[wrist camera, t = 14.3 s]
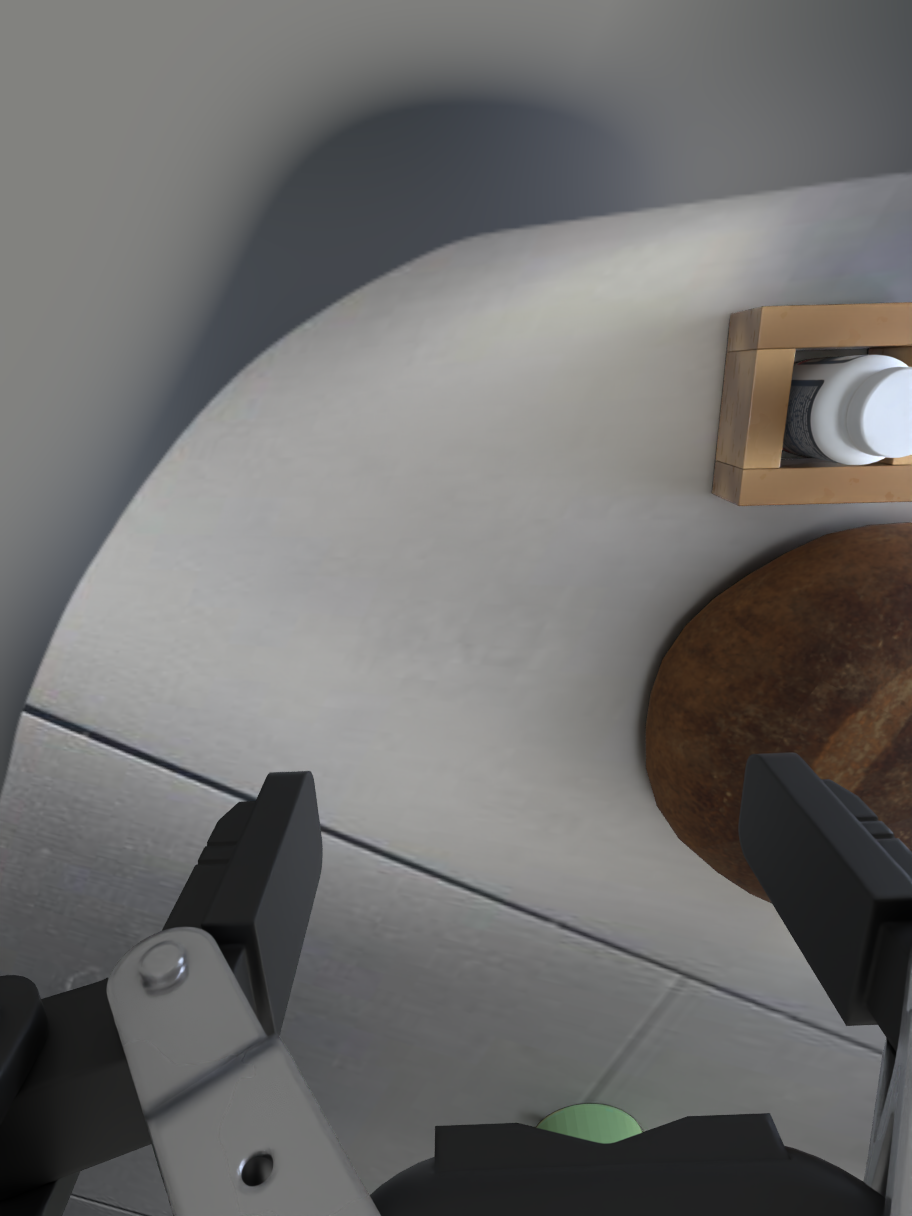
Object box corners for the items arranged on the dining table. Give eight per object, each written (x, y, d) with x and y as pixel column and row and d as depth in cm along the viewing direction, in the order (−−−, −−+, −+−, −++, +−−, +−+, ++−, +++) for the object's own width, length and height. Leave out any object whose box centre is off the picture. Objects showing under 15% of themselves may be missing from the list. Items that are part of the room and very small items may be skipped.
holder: (730, 313, 37) (762, 306, 33) (910, 308, 36) (963, 300, 33) (711, 493, 40) (738, 506, 36) (877, 489, 40) (921, 501, 36)
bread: (1158, 620, 43) (1327, 678, 34) (899, 922, 51) (986, 1028, 42) (787, 433, 39) (877, 448, 30) (571, 793, 47) (596, 882, 39)
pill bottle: (790, 471, 39) (881, 497, 31) (741, 403, 38) (822, 411, 30) (868, 409, 38) (984, 418, 30) (820, 337, 37) (928, 326, 29)
